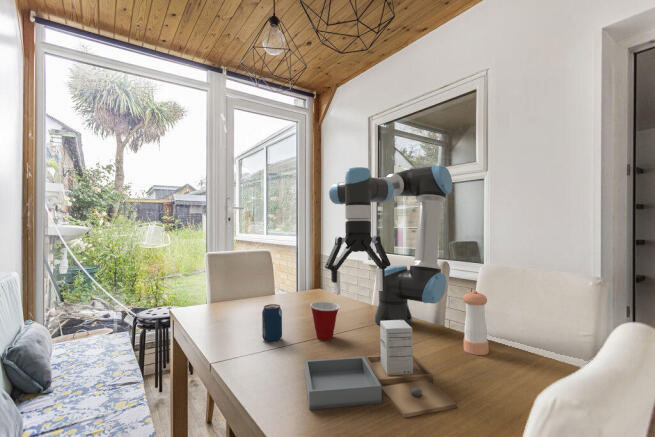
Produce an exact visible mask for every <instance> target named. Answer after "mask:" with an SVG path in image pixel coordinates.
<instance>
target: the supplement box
mask: <svg viewBox="0 0 655 437" xmlns="http://www.w3.org/2000/svg"><path fill="white" fill-rule="evenodd" d="M379 326H380V327H379V328H380V329H379V330H380V331H379V332H380V333H379V334H380V336H379V337H380V355H381V365H382V366H383V368H384V370H385V371H386V373H387V375H408V374H413V355H414V354H413V352H414V351H413V350H414V348H413V345H414V344H413V327H412V325H408V324H407V323H406V322H405V321H404V320H387V321H380V325H379Z"/></svg>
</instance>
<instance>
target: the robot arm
mask: <svg viewBox="0 0 655 437" xmlns="http://www.w3.org/2000/svg"><path fill="white" fill-rule="evenodd" d="M344 173H345V174H344V175H345V176H344V181H343V182H337V183H333V184H332V185H330V187H329V190H328V195H329V200H330V201H331V202H332V203H333V204H335V205H344V207H345V213H344V214H345V215H344V216H345V219H346V221H345V224H344V225H345V229H344V230H345V236H344V237H341V236H336V237H335V239H334V240H335V241H334V244H333V247H332V250H331V252H330V254H329V256H328V259H327V261H326V263H325V265H324V268H325V269H327V270H329V271H330V273H331V274H330V276H331V279H330V280H331V282H332V283H334V284H333V286H334V292H333V293H334V294H336V295H338V296H340V295H341V272H340V271H339V269H340V268H341V266H342V265H343V263H344V262H346V259H347V258H348V257H349V255H350V254H351V253H353V252H354V253H358V252H363V253H364V252H365V253H367V255H368V256H369V257H370V258H371V259H372V261H373V263H375V265H376V266H377V268H376V267H375V290H376V291H378V305H377V309H376V312H375V315H374V322H375V324H377V326H378V325H379V326H380V321H387V320H404V321H405V322H406V323H407V324H408V325H410V326H412V325H413V317H412V313H411V309H410V307H409V303H408V302H409V301H414V302H419V303H424V304H437V303H439V302H440V301H441V300H442V299H443V297H444V295H445V293H446V288H447V280H446V279H447V277H446V276H445V274H444V273H443V272H442V267H441V266H439V264H438V257H439V256H438V255H439V246H440V245H439V244H440V243H439V242H440V228H441V214H442V204H443V203H444V202H445V201H446V200H447V195H450V194H451V193H452V191H453V180H452V179H453V178H452V176H451V173H450V171H449V169H448V168H447V167H446V166H445V165H443V164H442V165H432V166H423V167H416V168H415V167H414V168H410V169H405V170H402V171H399V172H395V173H390V174H388V175H387V176H384V177H383V176H382V177H372V175H371V170H370V169H369V168H368V167H363V166H362V167H349V168H347V169H346V170H345V172H344ZM393 197H394V198H395V197H415V200H416V201H417V203H418V212H417V224H416V225H417V226H416V235H415V237H416V238H415V249H414V251H415V252H414V261H413V262H412V263H411V264H410V265H409V269H408V266H407V265H392V266H391V262H390V259H389V258H388V255H387V253H386V251H385V249H384V247H383V245H382V240H381V236H380V235H374V236H371V232H372V229H371V228H372V222H371V221H370V220H371V219H372V212H371V211H372V210H371V208H372V207H371V204H372V203H381V204H382V203H387V202H389V201H390V200H392V198H393ZM344 243H345V244H346V246H345V247H344V248H343V251H342V253H341V254H340V255H339V253H340V250H341V248H342V245H343V244H344ZM371 243H372V244H373V245H374V248H375V249H376V252H377V253H378V254H377V253H376V252H375V250H374V249H373V248H372V246H371ZM338 255H339V256H338Z"/></svg>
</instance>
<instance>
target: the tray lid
mask: <svg viewBox="0 0 655 437" xmlns="http://www.w3.org/2000/svg"><path fill="white" fill-rule="evenodd" d="M382 394H383V395H384V396H385V397H386V398H387V399H388V400H389V402H390V403H391V404H392V405H393V407H395V409H396V410H397V411H398V412H399V413H400V414H401V416H403V418H404V419H405V418H409V417H410V418H411V417H414V416H420V415H425V414H429V413H430V414H431V413H435V412H442V411H446V410H451V409H455V408H457V407H458V403H456V402H455V401H454V400H453V399H451V398H450V396H448V395H446V394H445V393H444V392H443V391H442V390H440V389H439V388H438V387H437V386H435V384H434V383H433V382H429V381H428V380H419V381H413V382H407V383H401V384H394V385H388V386H382Z"/></svg>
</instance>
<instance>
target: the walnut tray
mask: <svg viewBox="0 0 655 437" xmlns="http://www.w3.org/2000/svg"><path fill="white" fill-rule="evenodd" d="M363 357H364V358H365V359H366V361H367V363H368V364H369V366H370V368H371V369H372V371H373V373H374V374H375V376H376V377H377V379H378V381H379V382H380V384H381V386H388V385H394V384H401V383H407V382H413V381H419V380H428V381H429V382H431V383H434V374H433V373H432V372H431V371H430V370H429V369H427V368H426V366H425V365H423V363H422V362H421V361H420V360H419V359H418V358H417V357H416V356H415V355H414V354H413V374H408V375H387V373H386V371H385V370H384V368H383V366H382V365H381V354H379V355H378V354H377V355H364V356H363Z"/></svg>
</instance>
